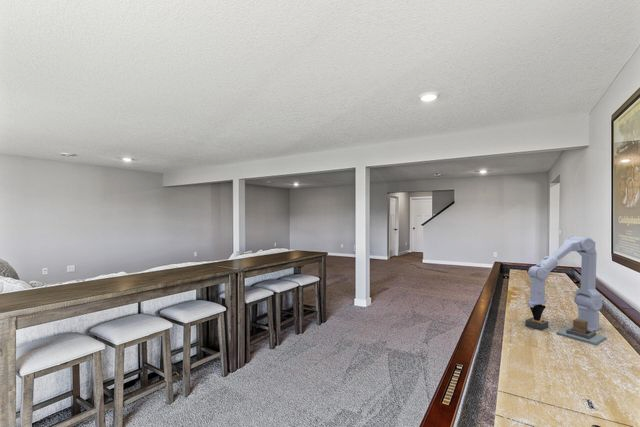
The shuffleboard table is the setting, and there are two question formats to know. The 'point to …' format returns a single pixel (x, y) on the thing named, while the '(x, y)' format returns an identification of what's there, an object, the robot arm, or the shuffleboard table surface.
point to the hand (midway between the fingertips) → (536, 320)
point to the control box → (536, 324)
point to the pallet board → (582, 336)
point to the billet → (580, 326)
